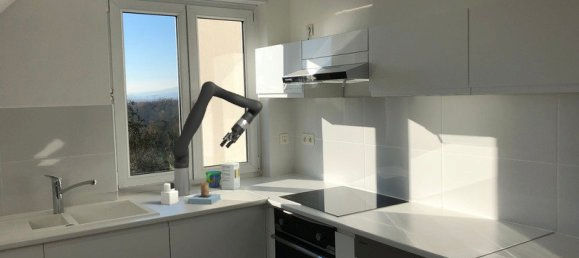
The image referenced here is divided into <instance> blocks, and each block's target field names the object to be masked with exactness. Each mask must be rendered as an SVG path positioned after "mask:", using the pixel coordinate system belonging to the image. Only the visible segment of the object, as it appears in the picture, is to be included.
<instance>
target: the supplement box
mask: <svg viewBox="0 0 579 258" xmlns="http://www.w3.org/2000/svg"><path fill="white" fill-rule="evenodd" d="M220 167H221V170H220V171H221V172H222V174H221V190H226V191H227V190H228V191H229V190H230V191H235V190H237V189H239V188H240V187H241V185H240V184H241V180H240V179H241V177H240V175H241V174H240V162H225V163H221V165H220ZM240 189H241V188H240Z"/></svg>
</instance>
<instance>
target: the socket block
mask: <svg viewBox="0 0 579 258" xmlns="http://www.w3.org/2000/svg"><path fill="white" fill-rule="evenodd" d="M221 198H222V197H221V194H219V193H209V197H208V198H201V193H197V194H194V195H193V196H191V197H189V198H188V204H189V205H213V204H215V203H217V202H218V201H220V200H221Z"/></svg>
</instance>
